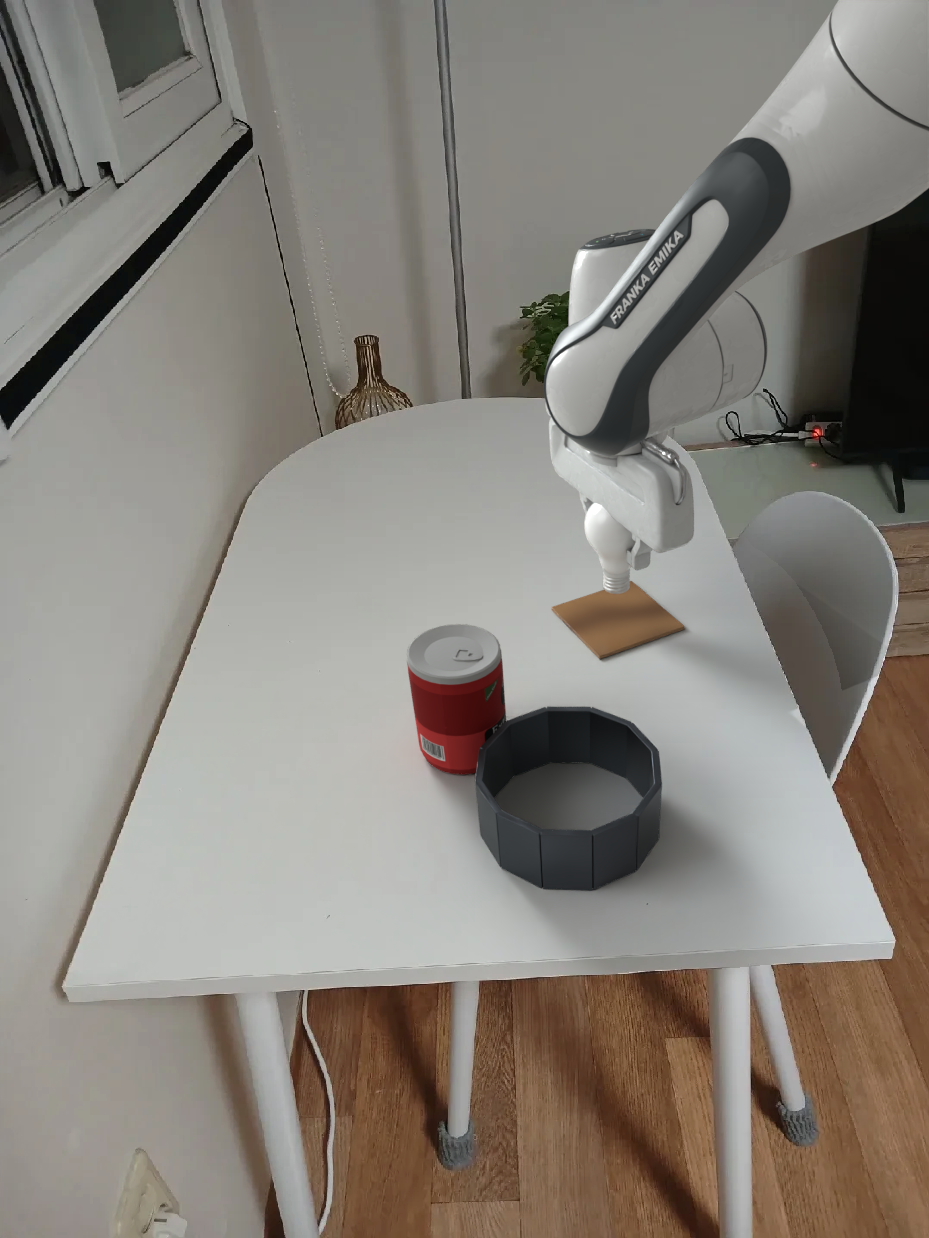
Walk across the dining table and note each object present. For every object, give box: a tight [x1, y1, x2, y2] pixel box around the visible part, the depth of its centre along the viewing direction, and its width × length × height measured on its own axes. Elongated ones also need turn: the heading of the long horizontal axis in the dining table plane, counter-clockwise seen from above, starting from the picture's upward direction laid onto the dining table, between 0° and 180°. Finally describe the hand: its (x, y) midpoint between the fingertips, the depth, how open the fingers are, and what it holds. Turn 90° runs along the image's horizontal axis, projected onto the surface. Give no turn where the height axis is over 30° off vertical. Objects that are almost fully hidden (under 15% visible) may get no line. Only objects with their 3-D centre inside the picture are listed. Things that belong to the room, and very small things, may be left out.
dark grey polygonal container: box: [474, 705, 663, 891], centre depth 76 cm, size 14×14×6 cm
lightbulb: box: [583, 503, 636, 594], centre depth 94 cm, size 6×6×11 cm
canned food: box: [406, 623, 507, 775], centre depth 82 cm, size 8×8×11 cm
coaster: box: [550, 580, 685, 660], centre depth 99 cm, size 10×10×1 cm
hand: (617, 548), depth 95 cm, fingers closed on lightbulb, 6 cm apart
